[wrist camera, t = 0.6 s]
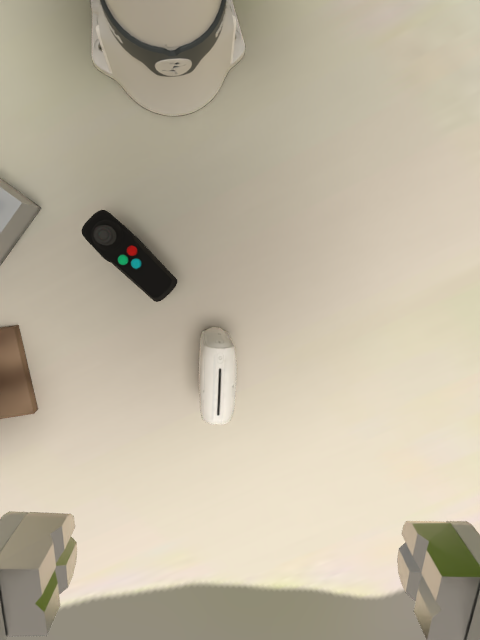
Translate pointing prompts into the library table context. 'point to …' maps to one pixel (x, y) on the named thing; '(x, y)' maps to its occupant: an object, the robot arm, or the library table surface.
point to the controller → (128, 255)
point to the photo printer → (217, 376)
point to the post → (14, 376)
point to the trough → (13, 217)
